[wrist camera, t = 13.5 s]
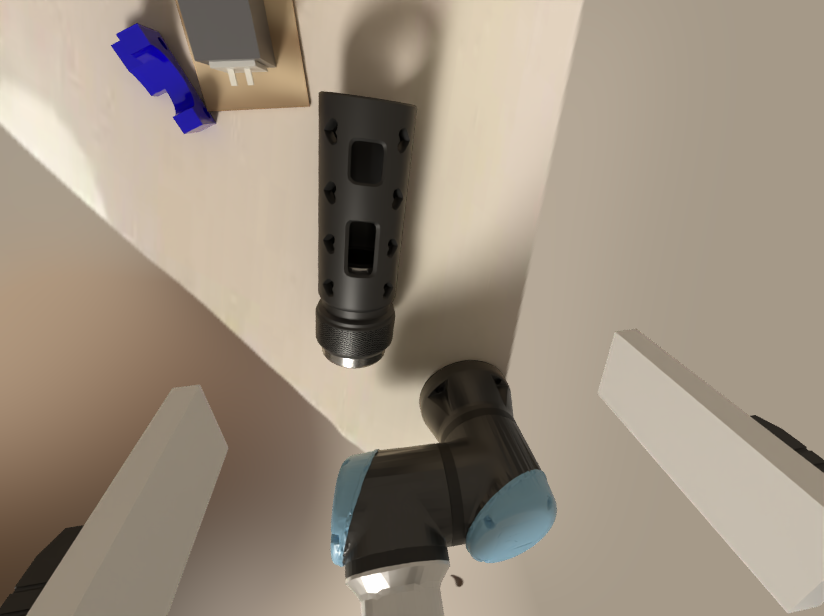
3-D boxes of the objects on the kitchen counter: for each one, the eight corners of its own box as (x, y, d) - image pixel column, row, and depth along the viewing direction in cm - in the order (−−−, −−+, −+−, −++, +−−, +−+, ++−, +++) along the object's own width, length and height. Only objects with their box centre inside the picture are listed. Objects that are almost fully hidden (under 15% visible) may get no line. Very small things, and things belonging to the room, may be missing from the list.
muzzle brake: (410, 107, 38) (429, 106, 29) (386, 327, 51) (394, 372, 42) (320, 93, 36) (310, 88, 28) (319, 324, 50) (312, 372, 41)
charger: (280, 86, 35) (265, 82, 29) (227, 89, 35) (201, 84, 29) (260, -14, 31) (239, -44, 25) (201, -13, 31) (165, -43, 25)
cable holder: (126, 49, 33) (100, 42, 29) (159, 32, 32) (136, 23, 29) (187, 138, 37) (170, 140, 33) (216, 123, 36) (202, 124, 33)
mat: (309, 106, 37) (309, 106, 36) (208, 111, 36) (207, 111, 35) (281, -69, 30) (280, -71, 30) (157, -69, 29) (154, -71, 29)
